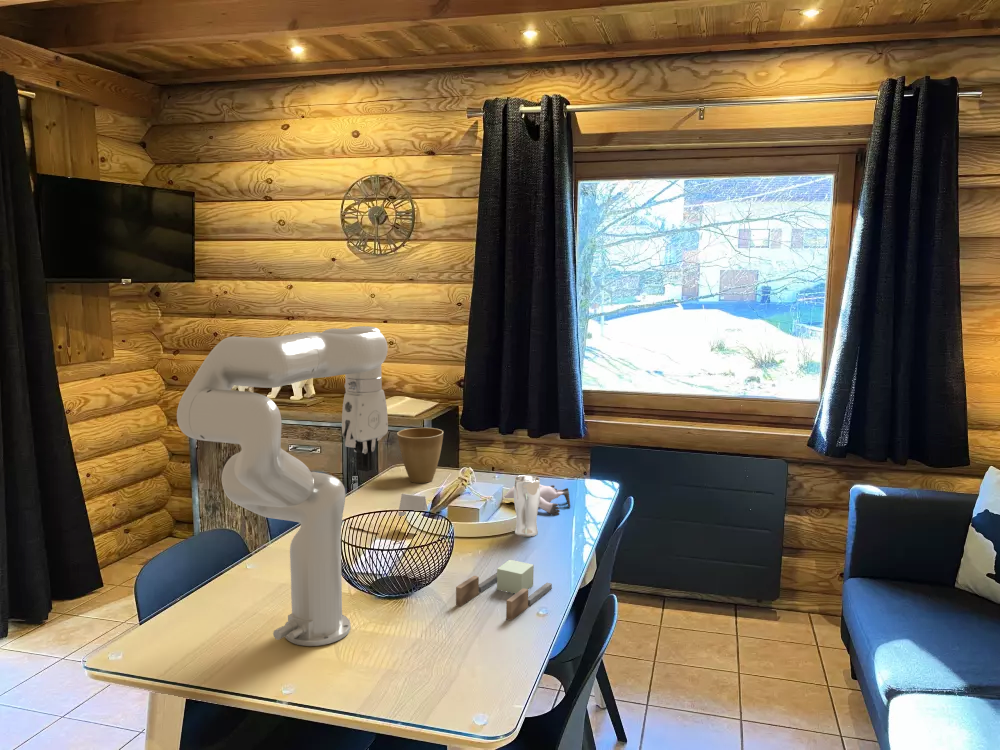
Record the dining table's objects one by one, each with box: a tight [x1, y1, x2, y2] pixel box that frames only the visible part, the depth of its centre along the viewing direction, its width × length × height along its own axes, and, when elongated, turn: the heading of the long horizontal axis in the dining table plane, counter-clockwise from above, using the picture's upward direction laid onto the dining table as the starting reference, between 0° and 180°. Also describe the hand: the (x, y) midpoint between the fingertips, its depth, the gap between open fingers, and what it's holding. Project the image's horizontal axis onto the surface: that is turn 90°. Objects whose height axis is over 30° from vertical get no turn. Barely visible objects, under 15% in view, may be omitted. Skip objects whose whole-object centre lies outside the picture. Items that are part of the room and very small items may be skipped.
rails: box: [479, 572, 553, 606], centre depth 173 cm, size 10×13×1 cm
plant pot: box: [396, 427, 444, 484], centre depth 255 cm, size 15×15×16 cm
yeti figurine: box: [503, 484, 571, 516], centre depth 233 cm, size 20×7×20 cm
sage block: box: [496, 559, 535, 594], centre depth 174 cm, size 6×6×5 cm
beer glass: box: [513, 474, 541, 538], centre depth 207 cm, size 7×7×15 cm
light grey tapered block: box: [398, 493, 429, 517], centre depth 208 cm, size 4×7×10 cm, turn 70°
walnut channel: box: [455, 575, 529, 621], centre depth 164 cm, size 7×13×4 cm, turn 59°
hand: (364, 469), depth 168 cm, fingers closed
